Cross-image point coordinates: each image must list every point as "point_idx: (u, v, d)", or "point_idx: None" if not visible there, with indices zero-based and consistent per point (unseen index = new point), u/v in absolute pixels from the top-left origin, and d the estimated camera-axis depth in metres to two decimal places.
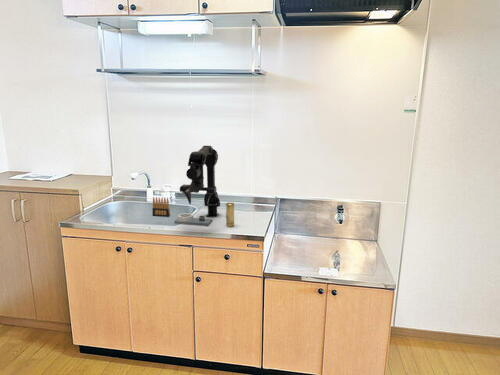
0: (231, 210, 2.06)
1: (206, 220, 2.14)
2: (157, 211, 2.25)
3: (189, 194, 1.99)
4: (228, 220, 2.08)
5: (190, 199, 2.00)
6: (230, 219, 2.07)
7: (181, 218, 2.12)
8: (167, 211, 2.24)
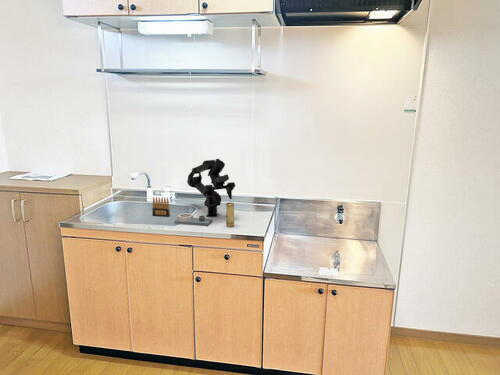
0: (231, 210, 2.06)
1: (206, 220, 2.14)
2: (157, 211, 2.25)
3: None
4: (228, 220, 2.08)
5: None
6: (230, 219, 2.07)
7: (181, 218, 2.12)
8: (167, 211, 2.24)
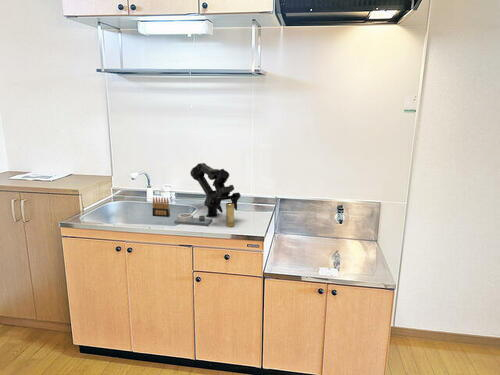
0: (231, 210, 2.06)
1: (206, 220, 2.14)
2: (157, 211, 2.25)
3: None
4: (228, 220, 2.08)
5: None
6: (230, 219, 2.07)
7: (181, 218, 2.12)
8: (167, 211, 2.24)
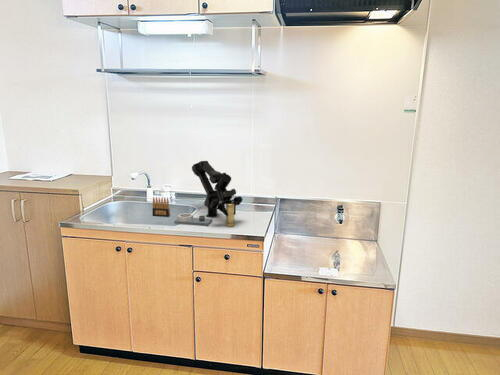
0: (231, 210, 2.06)
1: (206, 220, 2.14)
2: (157, 211, 2.25)
3: None
4: (228, 220, 2.08)
5: None
6: (230, 219, 2.07)
7: (181, 218, 2.12)
8: (167, 211, 2.24)
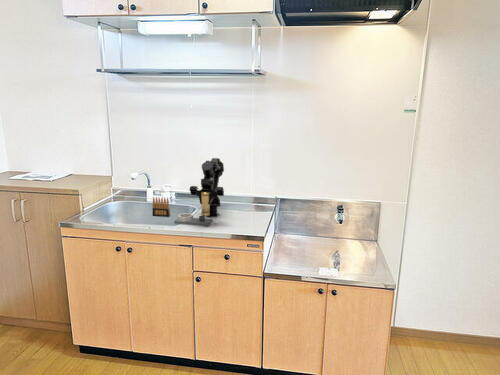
0: (204, 199, 2.03)
1: (206, 220, 2.14)
2: (157, 211, 2.25)
3: None
4: (202, 208, 2.05)
5: None
6: (203, 208, 2.04)
7: (181, 218, 2.12)
8: (167, 211, 2.24)
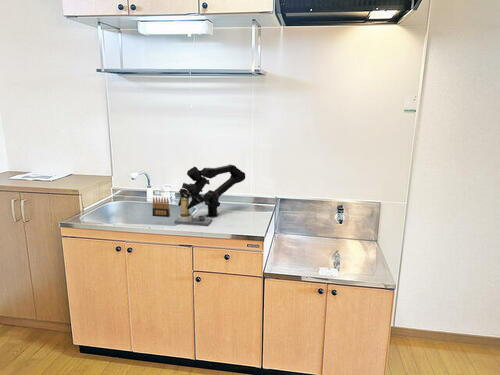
0: (181, 203, 2.13)
1: (206, 220, 2.14)
2: (157, 211, 2.25)
3: None
4: None
5: None
6: (181, 212, 2.14)
7: (181, 218, 2.12)
8: (167, 211, 2.24)
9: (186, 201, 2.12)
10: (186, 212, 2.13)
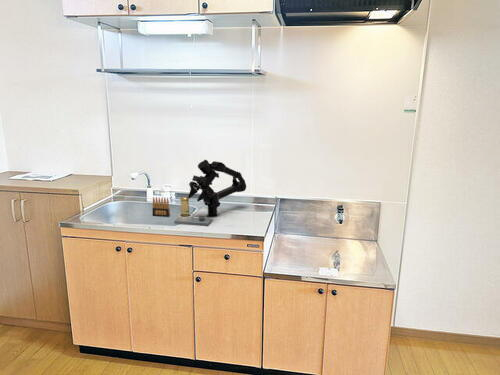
0: (181, 203, 2.13)
1: (206, 220, 2.14)
2: (157, 211, 2.25)
3: (193, 191, 2.22)
4: None
5: (191, 195, 2.21)
6: (181, 212, 2.14)
7: (181, 218, 2.12)
8: (167, 211, 2.24)
9: (186, 201, 2.12)
10: (186, 212, 2.13)
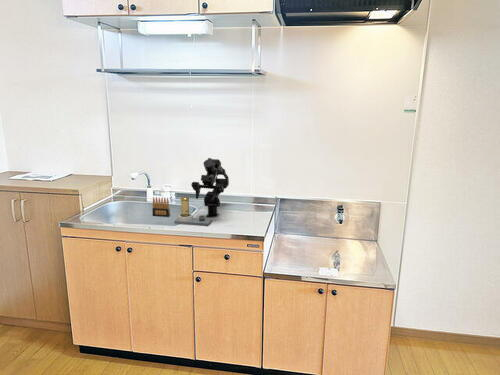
0: (181, 203, 2.13)
1: (206, 220, 2.14)
2: (157, 211, 2.25)
3: (198, 191, 2.17)
4: None
5: (198, 195, 2.16)
6: (181, 212, 2.14)
7: (181, 218, 2.12)
8: (167, 211, 2.24)
9: (186, 201, 2.12)
10: (186, 212, 2.13)
